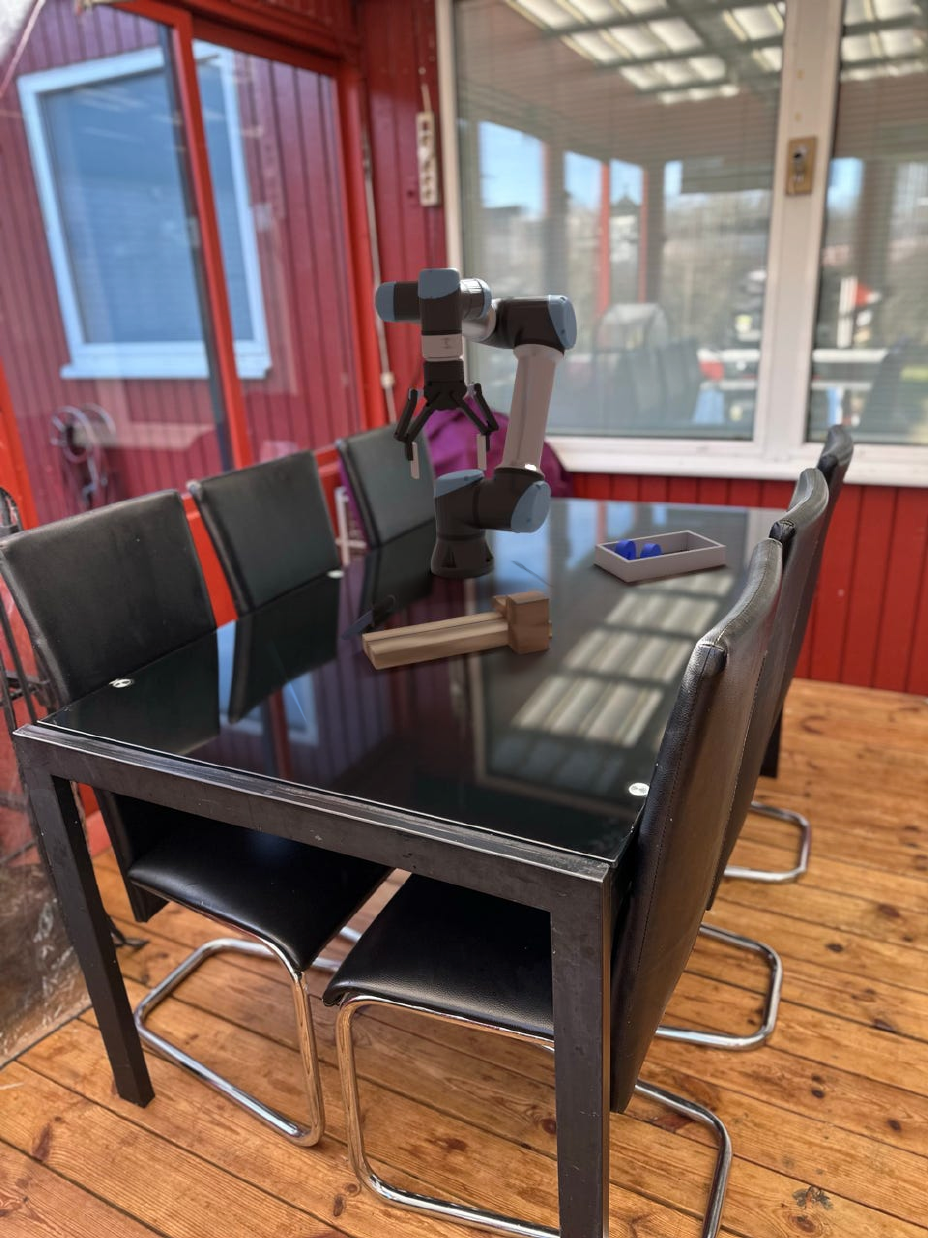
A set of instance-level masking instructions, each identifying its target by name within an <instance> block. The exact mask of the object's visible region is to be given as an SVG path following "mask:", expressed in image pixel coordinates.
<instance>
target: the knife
mask: <svg viewBox="0 0 928 1238" xmlns="http://www.w3.org/2000/svg"><path fill="white" fill-rule="evenodd" d="M395 604H396V598H395V595H392V594H389V595H388V596H387V597H386V598H384V599H382V600H380V601H378V602H376V603H375V604H374V603H373V602H371V603H369V611H367V612H366V613H365V614H364V615H362V616H361V617H360V618H358V619H357V620H355V621H354V622H353V623H352V624H351V625H350V626H349V627H348V628H347V629H346V630H344V632H342V633H341V634H339V637H340V638H341V639H342V640H344V641H347V640H351V639H352V638H353V637H354V636H356V635H357V634H359V633H360V631H362V630H363V629H364V628H366V627H367V626H368V625H370V626H371V628H375V626H376V624H375V621H376V620H377V619H378V618H380V617H381V616H384V615H385V614H386V613H387V611H389V610H390V608H391V607H393V606H395Z"/></svg>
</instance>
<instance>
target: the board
mask: <svg viewBox="0 0 928 1238" xmlns="http://www.w3.org/2000/svg"><path fill="white" fill-rule="evenodd" d="M550 637H553V622H552V621H551V620H550V619H549V638H550ZM361 639H362V648H363V651H364V653H365V654H366V656H367V657H368V659H369V660H370V661H371V663H372V664H373V666H374V668H375V669H376V670H381V669H387V668H388V669H389V668H392V667H399V666H404V665H409V664H415V663H421V662H424V661H429V660H435V659H436V660H437V659H439V658H446V657H452V656H457V655H462V654H467V653H472V652H477V651H483V650H489V649H493V648H500V647H504V646H508V620H507V619H506V618H505V617H504V616H503V615H501V614H500V613H499V612H498V611H497V610H493V611H489V612H482V613H476V614H472V615H471V614H470V615H465V616H460V617H459V616H458V617H455V618H454V617H453V618H448V619H443V620H438V621H437V620H436V621H431V622H425V623H420V624H419V623H418V624H414V625H408V626H403V627H397V628H390V629H385V630H380V631H379V630H378V631H375V632H374V631H373V632H368V633H362V634H361Z"/></svg>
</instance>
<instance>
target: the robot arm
mask: <svg viewBox="0 0 928 1238" xmlns="http://www.w3.org/2000/svg"><path fill="white" fill-rule="evenodd" d="M417 277H418V279H417V280H404V281H403V280H402V281H401V280H400V281H398V280H394V281H390V282H389V281H388V282H383V283H381V284H380V285H378V287H377V289H376V293H375V296H374V299H375V300H374V301H375V302H374V305H375V306H374V307H375V311H376V314H377V316H378V317H379V319H380V320H381V321H383V322H386V323H394V324H398V323H407V324H408V323H409V324H413V325H419V326H420V334H421V335H420V336H421V339H420V340H421V355H422V357H423V358H424V359H425V360H424V361H423V362H422V369H423V371H422V372H423V384H424V385H423V388H419V389H418V388H413V387H409V388H408V389H407V398H406V399H407V400H406V402H405V406H404V407H403V411H402V413H401V416H400V419H399V421H398V424H397V427H396V428H395V431H394V434H393V439H394V440H396V441H398V442H401V443H403V446H404V457H405V460H406V461H408V462H410V472H411V473H410V474H411V475H410V476H411V477H412V478H413V479H416V480H419V479H420V468H419V467H420V466H419V455H418V454H419V453H418V443H416V442H415V439H416V438H417V437H418V435H419V433H420V432H421V431H422V429H423V428H424V426H425V425H426V423H427V422H428V420H429V419H430V418H431V416H432V415H433V414H434V413H435V412H436V411H437V412H445V411H447V410H448V411H456V409H458V410H460V412H462V414H464V417H466V418H467V419H468V420H469V422H471V423H472V425H473V426H475V428H476V429H477V430H478V431H479V434H476V448H477V449H476V451H477V469H473V468H472V469H463V470H457V471H453V472H449V473H445V474H443V475H440V476H438V477H437V478H436V479H435V481H434V483H433V500H434V501H433V503H434V513H435V514H434V515H435V516H434V517H435V529H436V531H435V532H436V533H435V534H436V540H435V541H436V542H435V545H434V549H433V552H432V555H431V560H430V568H431V569H430V570H431V573H432V574H434V575H435V576H438V577H440V578H444V579H454V580H455V579H456V580H458V579H459V580H463V579H472V578H477V577H482V576H485V575H487V574H490V573H492V572H493V571H494V570H495V567H496V566H495V565H496V564H495V557H494V554H493V552H492V549H491V545H490V544H489V541H488V539H487V530H488V531H499V532H509V533H515V534H522V533H523V534H524V533H525V534H526V533H528V534H530V533H531V534H532V533H535V532H537V531H539V530H540V528H541V527H542V526H543V525H544V523H545V521H546V520H547V517H548V516H549V515H548V514H549V512H550V508H551V503H552V497H551V495H552V491H551V486H550V485H549V483H548V482H546V481H545V478H546V476H545V475H546V474H544V472H543V471H542V469H541V461H542V455H543V448H544V441H545V435H546V429H547V422H548V416H549V411H550V404H551V397H552V391H553V385H554V380H555V373H556V372H555V370H556V367H557V365H558V364H561V363H562V362H563V361H564V358H565V351H566V350H567V351H570V350H572V349H573V348H574V347H575V345H576V344H577V343H576V342H577V336H578V335H577V334H578V326H577V317H576V313H575V309H574V306H573V304H572V301H571V300H570V299H569V298H568V297H567V296H565V295H558V294H557V295H555V294H553V295H552V294H547V295H545V294H544V295H524V296H523V295H522V296H521V295H520V296H501V297H492V291H491V289H490V286H489V285H488V283H486V282H485V281H484V280H482V279H481V278H476V277H472V276H470V277H464V278H461V275H460V271H459V270H458V268H457V267H441V268H424V269H421V270H420V271H419V272H418V275H417ZM463 337H464V339H465V340H467V341H469V342H474V343H477V344H481V345H485V346H488V347H493V348H495V349H496V348H497V349H502V350H512V353H513V355H514V356H515V358H516V359H517V368H516V374H515V379H514V385H513V392H512V396H511V397H512V400H511V403H510V411H509V417H508V421H507V428H506V429H507V430H506V435H505V443H504V447H503V455H502V459H501V460H502V461H501V462H500V464H498V465H497V466H495V467H494V469H493V475H492V478H491V477H490V478H489V477H485V476H486V475H485V474H484V471H487V468H488V467H487V453H488V452H490V450H491V437H490V436H491V435H492V434H493V433H494V432H497V431H499V429H500V426H499V424H498V422H497V420H496V418H495V416H494V414H493V413H492V410H491V408H490V406H489V404H488V403H487V401H486V399H485V396H484V395H483V389H482V384H481V383H479V382H476V381H473V382H471V383H469V384H466V382H465V363H464V361H465V360H463V358H461V356H462V357H463V355H464V342H463ZM467 393H468V394H469V395H471V396H472V397H473V398H472V399H473V400H474V402H475V404H476V405H477V407H478V410H479V411H480V413H481V416H482V417H483V419H484V421H485V423H486V424H485V423H484V422H483V421H482V419H480V417H479V416H478V415H477V414H476V413H475V412H474V410H473V409H472V408H471V407H470V406H469V404H468V403H467V402H466V401H465V400H464V398H465V396H466V394H467ZM421 397H423V398H424V399H425V400H426V402H425V403H424V405H423V406H422V409H421V411H420V412H419V414H418V415H417V416H416V418H415V420H414V421H413V423H412V424H411V426H410V422H411V421H412V418H413V416H414V413H415V410H416V407H417V404H418V402H419V401H420V400H421ZM409 426H410V427H409ZM408 428H409V429H408Z"/></svg>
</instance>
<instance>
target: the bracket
mask: <svg viewBox="0 0 928 1238" xmlns="http://www.w3.org/2000/svg"><path fill="white" fill-rule="evenodd" d="M618 541H619V542H618V544H617V546H616V549H615V553H616V554H618V555H620V556H622V557H623V558H625V559H627V560H629V561H630V560H636V559H637V558H636V545H635V543H634V541H631V540H628V539H620V540H618ZM661 555H662V554H661V548H660V546H659V545H658V544H652V543H647V544H645V545H644V547H643V549H642V551H641V554H640V558H639V559H642V558H648V557H654V556H661Z"/></svg>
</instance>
